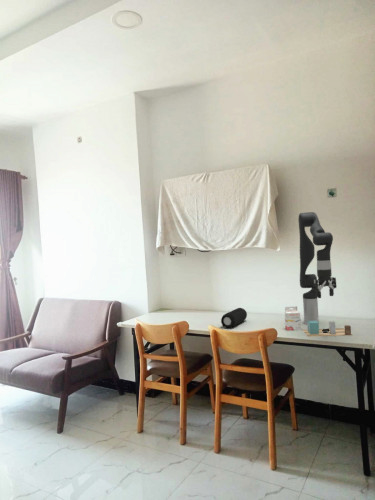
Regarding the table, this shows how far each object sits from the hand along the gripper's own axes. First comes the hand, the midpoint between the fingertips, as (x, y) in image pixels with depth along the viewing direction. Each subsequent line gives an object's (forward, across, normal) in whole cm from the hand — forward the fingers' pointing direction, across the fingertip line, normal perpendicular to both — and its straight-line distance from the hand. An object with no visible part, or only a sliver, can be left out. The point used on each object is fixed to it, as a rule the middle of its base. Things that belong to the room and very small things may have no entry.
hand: (325, 296), depth 199 cm
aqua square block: (+24, -2, -14) cm, 28 cm away
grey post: (+25, -9, -6) cm, 27 cm away
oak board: (+25, -8, -10) cm, 28 cm away
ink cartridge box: (+25, +3, -27) cm, 37 cm away
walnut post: (+25, -15, 0) cm, 29 cm away
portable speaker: (+26, +26, -62) cm, 72 cm away
